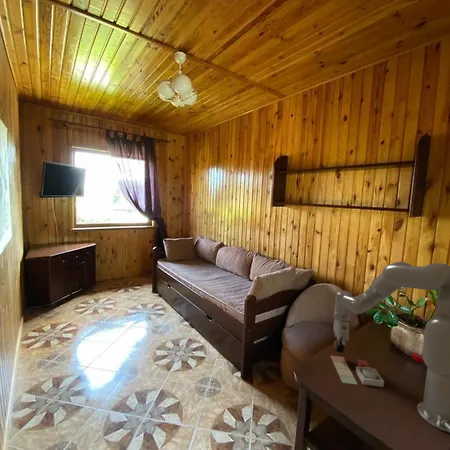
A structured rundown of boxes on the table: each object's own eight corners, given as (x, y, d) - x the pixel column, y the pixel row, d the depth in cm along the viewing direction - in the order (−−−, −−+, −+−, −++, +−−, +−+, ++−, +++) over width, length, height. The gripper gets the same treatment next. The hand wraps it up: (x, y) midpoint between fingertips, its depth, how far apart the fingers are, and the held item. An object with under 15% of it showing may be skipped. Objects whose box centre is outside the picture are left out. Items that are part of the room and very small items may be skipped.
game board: (358, 386, 111) (358, 384, 111) (341, 384, 112) (341, 382, 112) (343, 358, 131) (343, 356, 131) (329, 356, 132) (329, 355, 132)
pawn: (344, 352, 126) (345, 340, 125) (335, 351, 127) (336, 339, 126) (341, 347, 131) (342, 336, 130) (332, 346, 131) (333, 335, 130)
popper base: (384, 388, 110) (385, 379, 110) (362, 385, 112) (363, 376, 111) (369, 366, 125) (370, 358, 125) (350, 364, 126) (351, 356, 126)
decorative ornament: (409, 358, 133) (409, 353, 133) (412, 351, 140) (413, 346, 140) (432, 367, 126) (433, 361, 126) (434, 359, 133) (435, 354, 133)
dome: (379, 384, 112) (379, 376, 112) (364, 382, 113) (365, 374, 112) (373, 375, 118) (373, 367, 117) (359, 373, 119) (360, 365, 118)
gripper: (355, 324, 118) (351, 360, 120) (344, 309, 134) (340, 340, 136) (339, 322, 119) (335, 358, 121) (329, 307, 135) (326, 339, 137)
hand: (338, 348), depth 129 cm, fingers closed on pawn, 4 cm apart
